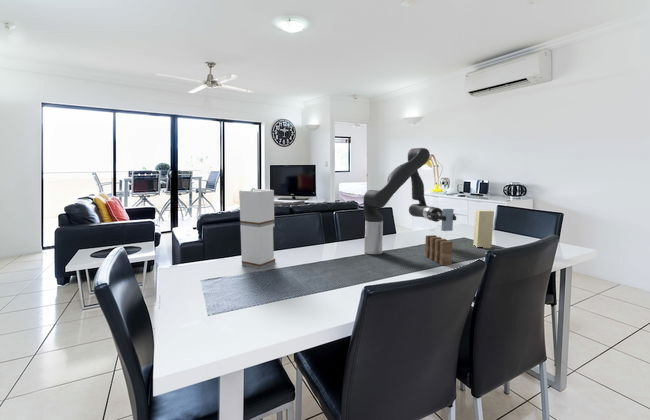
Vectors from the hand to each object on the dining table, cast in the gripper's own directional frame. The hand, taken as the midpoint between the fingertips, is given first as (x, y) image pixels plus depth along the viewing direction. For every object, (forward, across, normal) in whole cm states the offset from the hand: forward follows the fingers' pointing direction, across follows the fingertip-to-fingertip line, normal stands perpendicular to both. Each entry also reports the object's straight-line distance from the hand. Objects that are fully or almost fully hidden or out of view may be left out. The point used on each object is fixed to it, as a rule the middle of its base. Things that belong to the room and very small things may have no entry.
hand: (450, 218), depth 170 cm
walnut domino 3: (+6, -8, +20) cm, 22 cm away
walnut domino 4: (+11, -8, +20) cm, 24 cm away
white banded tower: (-10, -94, +20) cm, 97 cm away
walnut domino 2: (+2, -8, +20) cm, 22 cm away
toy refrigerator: (-16, +31, +20) cm, 40 cm away
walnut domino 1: (-3, -8, +20) cm, 22 cm away
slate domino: (-3, 0, +6) cm, 7 cm away
